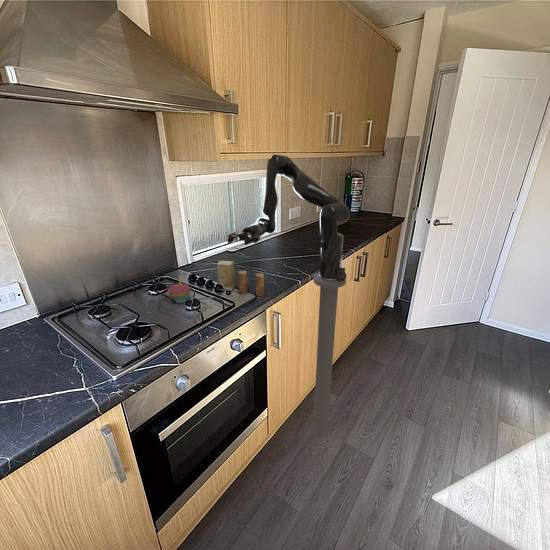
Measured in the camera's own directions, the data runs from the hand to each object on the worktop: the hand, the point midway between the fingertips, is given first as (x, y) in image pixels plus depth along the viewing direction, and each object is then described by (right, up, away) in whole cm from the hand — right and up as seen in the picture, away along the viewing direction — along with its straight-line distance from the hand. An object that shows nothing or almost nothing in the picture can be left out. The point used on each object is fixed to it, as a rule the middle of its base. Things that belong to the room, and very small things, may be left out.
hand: (236, 241), depth 130 cm
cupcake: (-21, -25, -11) cm, 35 cm away
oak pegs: (+7, -22, -6) cm, 24 cm away
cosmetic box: (-4, -21, -2) cm, 21 cm away
